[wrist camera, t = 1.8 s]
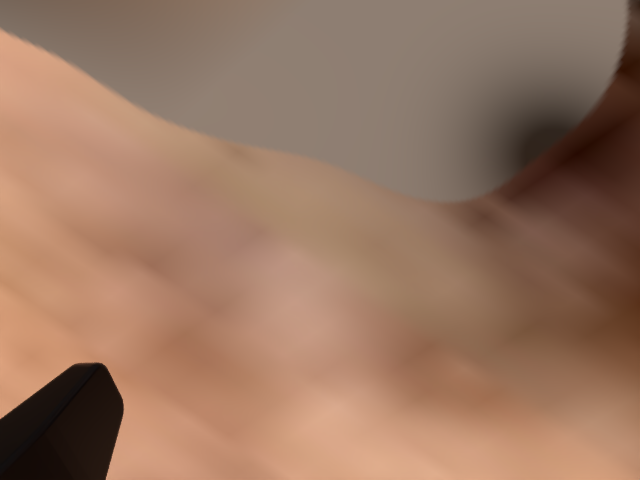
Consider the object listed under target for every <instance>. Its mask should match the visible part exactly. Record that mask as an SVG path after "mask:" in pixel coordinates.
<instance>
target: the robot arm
mask: <svg viewBox="0 0 640 480" xmlns="http://www.w3.org/2000/svg"><path fill="white" fill-rule="evenodd" d="M123 411H124V404H123V399H122V397H121V395H120V393H119V391H118V389H117V387H116V385H115V383H114V381H113V379H112V377H111V375H110V373H109V371H108V369H107V367H106V366H105V365H103V364H102V363H77V364H74V365H72V366H71V367H69V368H68V369H67V370H65V371H64V372H63V373H61V374H60V375H59V376H57V377H56V378H55V379H53V380H52V381H51V382H49V383H48V384H47V385H45V386H44V387H43V388H41V389H40V390H39V391H37V392H36V393H35V394H33V395H32V396H31V397H29V398H28V399H27V400H25V401H24V402H23V403H21V404H20V405H19V406H17V407H16V408H15V409H13V410H12V411H11V412H9V413H8V414H7V415H5V416H4V417H3V418H1V419H0V480H106V476H107V473H108V469H109V465H110V462H111V458H112V454H113V451H114V447H115V443H116V440H117V436H118V432H119V429H120V425H121V421H122V417H123Z"/></svg>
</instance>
